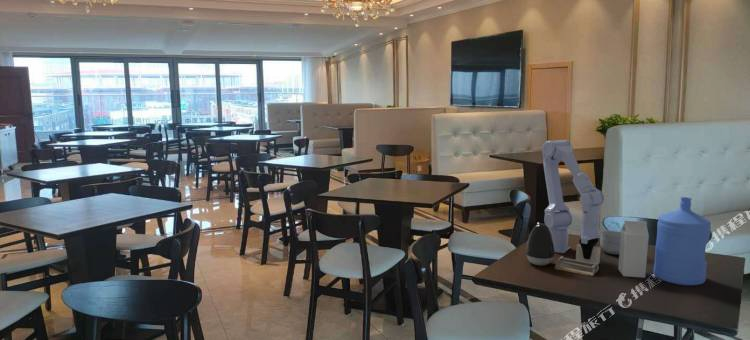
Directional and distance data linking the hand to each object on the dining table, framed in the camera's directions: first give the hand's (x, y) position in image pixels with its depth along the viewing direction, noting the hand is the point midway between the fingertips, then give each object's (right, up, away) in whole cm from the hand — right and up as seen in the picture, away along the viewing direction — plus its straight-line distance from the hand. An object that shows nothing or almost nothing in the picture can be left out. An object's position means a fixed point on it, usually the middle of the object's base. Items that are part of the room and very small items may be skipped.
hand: (587, 257), depth 200 cm
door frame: (-7, -3, -8) cm, 11 cm away
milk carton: (+10, -4, -13) cm, 17 cm away
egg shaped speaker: (-19, -2, -2) cm, 19 cm away
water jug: (+24, -4, -17) cm, 30 cm away
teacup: (+16, 0, +10) cm, 18 cm away
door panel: (0, -1, 0) cm, 1 cm away
